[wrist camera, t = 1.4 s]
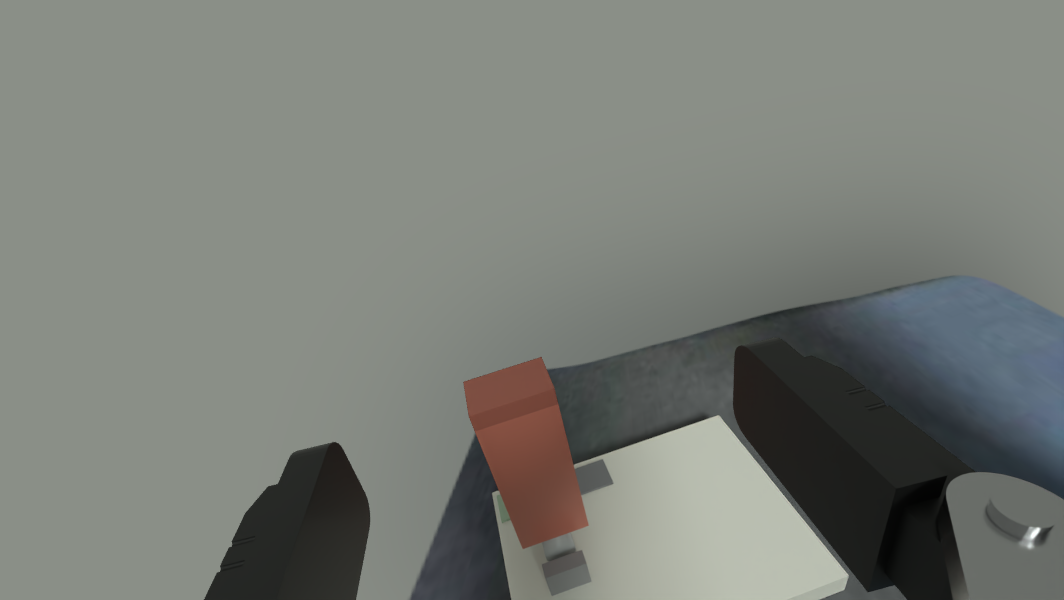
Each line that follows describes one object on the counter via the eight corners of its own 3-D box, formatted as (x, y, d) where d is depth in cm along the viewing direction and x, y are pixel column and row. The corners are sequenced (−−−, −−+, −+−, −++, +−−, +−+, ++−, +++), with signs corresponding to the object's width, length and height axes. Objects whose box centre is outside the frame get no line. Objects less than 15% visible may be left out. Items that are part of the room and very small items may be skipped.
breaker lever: (578, 503, 30) (539, 352, 23) (595, 549, 27) (556, 394, 20) (520, 523, 30) (462, 376, 23) (531, 573, 27) (469, 422, 20)
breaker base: (718, 428, 35) (718, 395, 33) (844, 589, 25) (855, 555, 23) (497, 505, 34) (484, 475, 32) (535, 709, 23) (520, 682, 22)
